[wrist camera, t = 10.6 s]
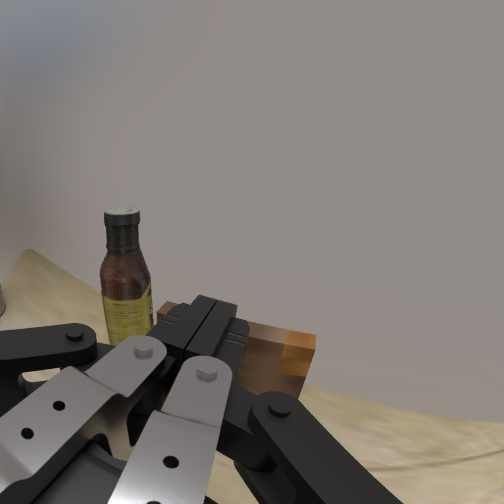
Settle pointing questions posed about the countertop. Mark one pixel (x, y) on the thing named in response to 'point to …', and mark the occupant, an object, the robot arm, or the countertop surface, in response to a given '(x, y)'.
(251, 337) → the brown wooden block
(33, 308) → the countertop surface
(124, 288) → the sauce bottle
